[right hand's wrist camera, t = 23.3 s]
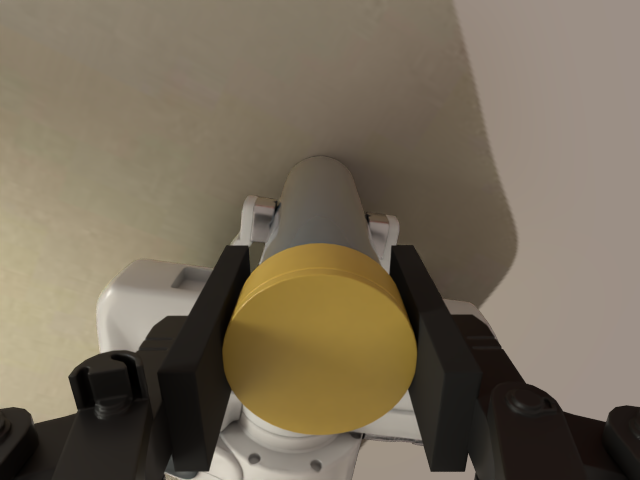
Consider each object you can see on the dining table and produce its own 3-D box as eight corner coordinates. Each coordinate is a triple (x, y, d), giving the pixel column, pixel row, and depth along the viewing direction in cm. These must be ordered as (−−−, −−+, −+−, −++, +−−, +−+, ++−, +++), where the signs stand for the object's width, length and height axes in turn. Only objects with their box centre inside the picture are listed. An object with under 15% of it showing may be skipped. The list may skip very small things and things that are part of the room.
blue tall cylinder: (332, 141, 25) (351, 237, 10) (368, 203, 26) (429, 365, 11) (270, 179, 25) (204, 318, 11) (308, 237, 27) (293, 427, 12)
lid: (428, 268, 12) (449, 304, 10) (370, 400, 13) (379, 452, 12) (258, 221, 11) (245, 250, 9) (221, 364, 13) (204, 413, 11)
